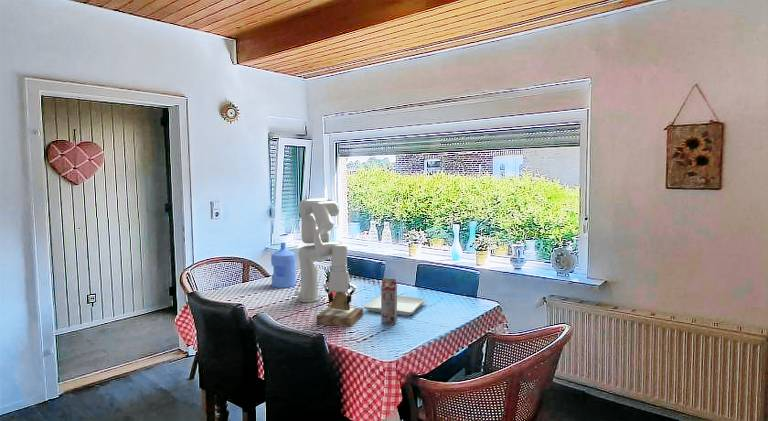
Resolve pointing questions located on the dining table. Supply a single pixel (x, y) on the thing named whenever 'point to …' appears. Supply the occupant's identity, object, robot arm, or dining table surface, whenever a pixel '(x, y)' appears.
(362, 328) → the dining table surface
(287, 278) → the water jug
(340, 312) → the stand
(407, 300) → the square plate
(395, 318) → the juice carton
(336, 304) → the rock
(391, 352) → the dining table surface
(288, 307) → the dining table surface
